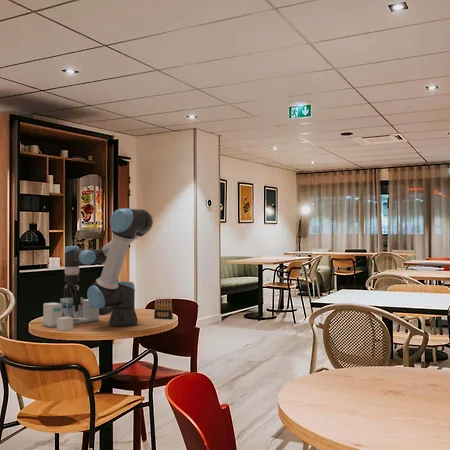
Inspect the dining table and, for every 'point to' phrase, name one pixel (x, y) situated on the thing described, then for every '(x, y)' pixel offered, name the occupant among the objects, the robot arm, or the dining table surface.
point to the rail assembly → (55, 311)
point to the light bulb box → (70, 307)
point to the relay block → (64, 323)
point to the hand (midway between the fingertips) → (71, 316)
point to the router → (104, 309)
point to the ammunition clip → (163, 309)
